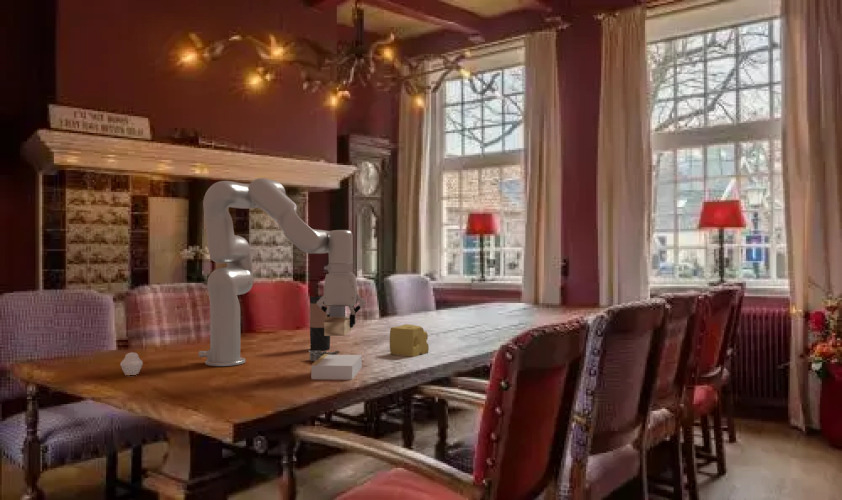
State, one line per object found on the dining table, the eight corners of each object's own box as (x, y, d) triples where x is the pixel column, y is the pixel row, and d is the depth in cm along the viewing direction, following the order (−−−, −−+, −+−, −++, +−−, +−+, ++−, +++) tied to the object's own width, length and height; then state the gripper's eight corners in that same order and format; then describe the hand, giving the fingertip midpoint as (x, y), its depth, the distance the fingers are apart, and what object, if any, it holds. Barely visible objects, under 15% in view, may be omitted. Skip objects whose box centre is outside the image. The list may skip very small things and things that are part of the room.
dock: (311, 379, 188) (311, 364, 188) (324, 367, 207) (324, 354, 207) (352, 379, 187) (352, 365, 187) (361, 367, 206) (361, 354, 206)
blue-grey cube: (329, 320, 196) (329, 307, 196) (332, 318, 200) (332, 306, 200) (342, 320, 195) (342, 307, 195) (345, 319, 199) (345, 306, 199)
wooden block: (324, 335, 191) (324, 317, 191) (333, 329, 206) (333, 312, 206) (344, 335, 191) (344, 317, 191) (352, 329, 206) (352, 312, 206)
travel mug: (328, 351, 239) (328, 297, 239) (308, 351, 239) (308, 297, 239) (331, 347, 247) (331, 295, 247) (311, 347, 247) (311, 295, 247)
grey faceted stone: (145, 372, 197) (145, 350, 197) (139, 376, 191) (140, 353, 191) (123, 373, 196) (123, 350, 196) (117, 377, 190) (117, 353, 190)
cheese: (428, 353, 235) (428, 325, 235) (412, 357, 226) (412, 329, 226) (405, 350, 240) (405, 324, 240) (388, 354, 231) (388, 327, 231)
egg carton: (340, 363, 216) (340, 351, 216) (320, 365, 212) (320, 353, 212) (327, 358, 225) (327, 346, 225) (306, 360, 221) (307, 348, 221)
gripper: (310, 270, 199) (311, 328, 199) (366, 269, 198) (366, 328, 198) (316, 269, 206) (316, 325, 206) (369, 269, 205) (370, 325, 205)
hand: (341, 326), depth 202 cm, fingers closed on wooden block, 6 cm apart
